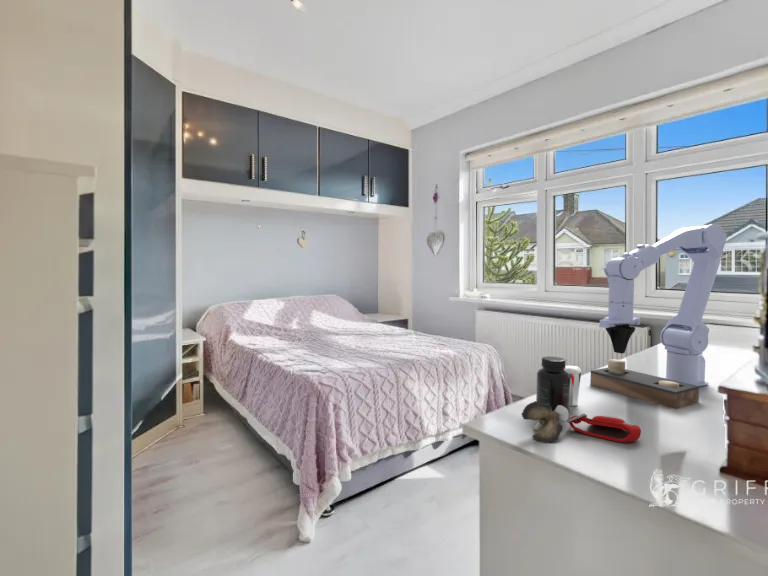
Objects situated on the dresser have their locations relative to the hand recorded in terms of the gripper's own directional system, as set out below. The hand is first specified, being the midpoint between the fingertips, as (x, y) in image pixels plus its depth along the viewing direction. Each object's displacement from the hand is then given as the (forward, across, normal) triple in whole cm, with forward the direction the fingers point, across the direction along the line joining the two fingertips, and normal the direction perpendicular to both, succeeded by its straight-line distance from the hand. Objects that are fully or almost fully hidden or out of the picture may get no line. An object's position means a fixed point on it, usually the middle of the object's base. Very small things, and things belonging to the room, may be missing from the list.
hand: (619, 352), depth 105 cm
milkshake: (+10, +23, +3) cm, 25 cm away
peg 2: (+9, 0, +12) cm, 15 cm away
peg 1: (+6, 0, -1) cm, 6 cm away
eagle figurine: (+10, +42, +12) cm, 45 cm away
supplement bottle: (+10, +31, +5) cm, 33 cm away
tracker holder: (+10, +32, +16) cm, 37 cm away
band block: (+9, 0, +6) cm, 11 cm away
